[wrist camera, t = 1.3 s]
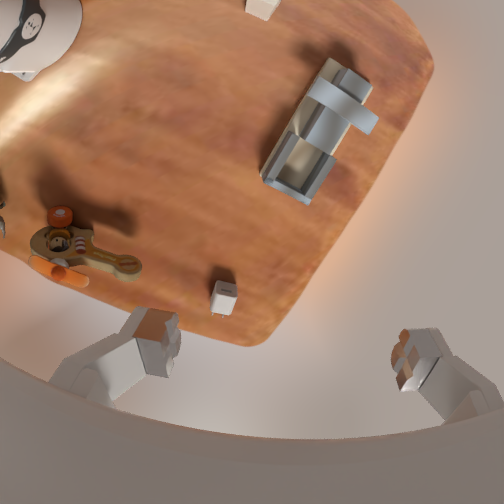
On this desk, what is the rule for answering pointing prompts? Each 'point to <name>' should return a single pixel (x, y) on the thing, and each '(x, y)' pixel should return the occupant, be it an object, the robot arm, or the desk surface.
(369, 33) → the desk surface
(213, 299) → the usb wall charger
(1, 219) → the rhinoceros figurine
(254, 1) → the cream upright slab block
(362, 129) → the jig
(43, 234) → the toy helicopter
